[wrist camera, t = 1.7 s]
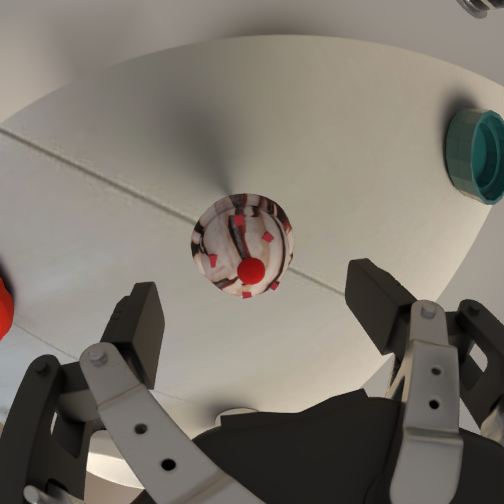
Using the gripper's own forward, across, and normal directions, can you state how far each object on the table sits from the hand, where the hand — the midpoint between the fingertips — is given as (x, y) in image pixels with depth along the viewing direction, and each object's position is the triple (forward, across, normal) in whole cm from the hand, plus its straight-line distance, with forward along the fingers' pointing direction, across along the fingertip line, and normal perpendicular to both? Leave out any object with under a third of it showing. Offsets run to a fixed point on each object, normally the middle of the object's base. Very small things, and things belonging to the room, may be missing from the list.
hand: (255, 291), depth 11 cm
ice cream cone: (+16, 0, 0) cm, 16 cm away
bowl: (+16, +28, +48) cm, 58 cm away
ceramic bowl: (+16, -32, -6) cm, 36 cm away
